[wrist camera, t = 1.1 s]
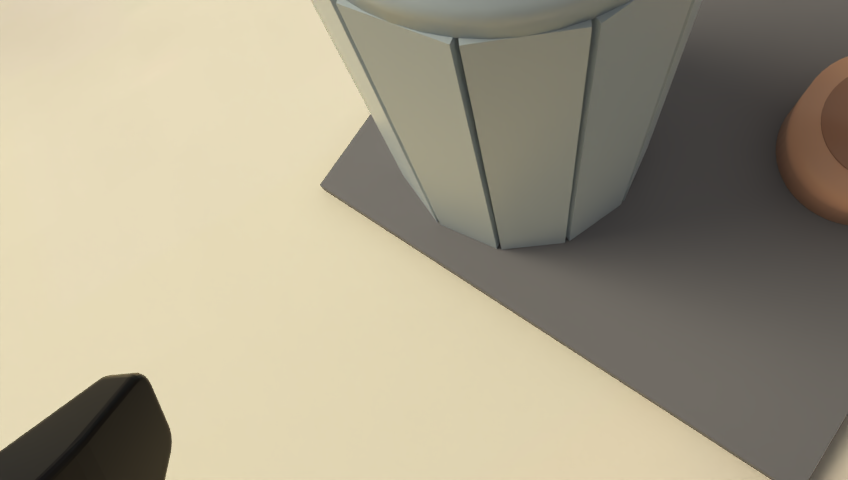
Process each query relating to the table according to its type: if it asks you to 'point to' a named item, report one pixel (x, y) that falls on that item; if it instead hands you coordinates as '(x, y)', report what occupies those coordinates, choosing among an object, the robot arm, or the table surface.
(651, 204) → the mat
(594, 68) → the cover
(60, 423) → the robot arm
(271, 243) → the table surface
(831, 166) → the dish
